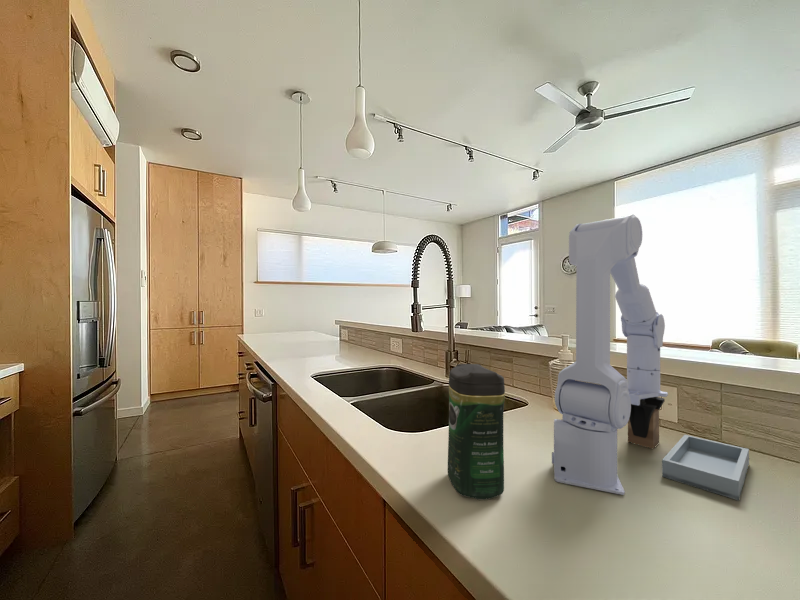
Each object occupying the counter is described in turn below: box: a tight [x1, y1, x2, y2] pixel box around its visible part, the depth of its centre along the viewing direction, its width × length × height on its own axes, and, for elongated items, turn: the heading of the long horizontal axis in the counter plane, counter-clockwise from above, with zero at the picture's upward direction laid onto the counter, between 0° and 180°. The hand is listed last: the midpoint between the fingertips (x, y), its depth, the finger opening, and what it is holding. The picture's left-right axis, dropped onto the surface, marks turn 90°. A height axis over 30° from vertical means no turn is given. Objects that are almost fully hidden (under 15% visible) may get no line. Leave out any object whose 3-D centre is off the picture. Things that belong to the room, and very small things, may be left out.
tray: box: [661, 434, 750, 501], centre depth 58 cm, size 18×9×3 cm, turn 131°
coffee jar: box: [447, 363, 506, 501], centre depth 53 cm, size 10×8×19 cm
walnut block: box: [627, 409, 660, 450], centre depth 70 cm, size 4×4×7 cm
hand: (643, 433), depth 70 cm, fingers closed on walnut block, 4 cm apart
